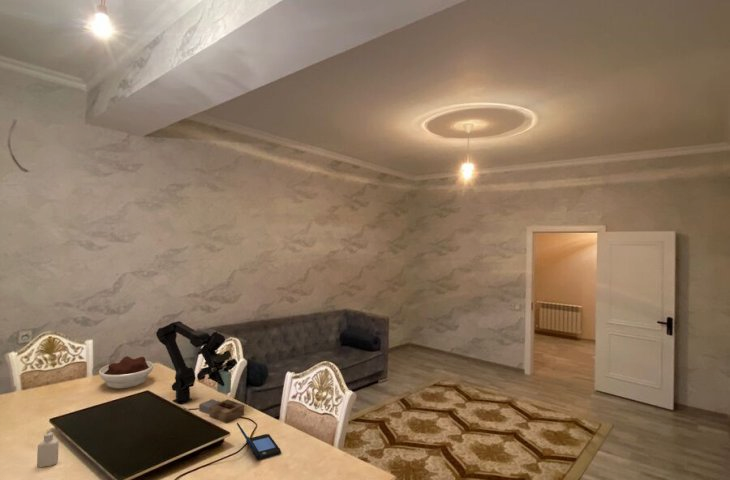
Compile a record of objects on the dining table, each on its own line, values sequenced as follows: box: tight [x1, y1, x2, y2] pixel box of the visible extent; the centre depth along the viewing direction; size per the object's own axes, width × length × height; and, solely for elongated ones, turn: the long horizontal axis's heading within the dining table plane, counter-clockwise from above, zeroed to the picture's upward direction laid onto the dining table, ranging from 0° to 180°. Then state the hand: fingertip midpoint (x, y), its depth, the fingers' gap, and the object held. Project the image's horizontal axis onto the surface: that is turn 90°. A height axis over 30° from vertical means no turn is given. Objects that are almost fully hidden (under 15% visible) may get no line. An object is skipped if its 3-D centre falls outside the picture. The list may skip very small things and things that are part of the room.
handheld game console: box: [236, 422, 282, 461], centre depth 148 cm, size 16×13×9 cm
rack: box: [208, 399, 245, 424], centre depth 174 cm, size 11×10×4 cm
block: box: [216, 370, 232, 395], centre depth 175 cm, size 6×2×9 cm, turn 60°
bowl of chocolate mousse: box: [98, 355, 155, 389], centre depth 206 cm, size 25×25×15 cm
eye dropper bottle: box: [36, 428, 60, 467], centre depth 134 cm, size 4×6×12 cm
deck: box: [198, 399, 221, 415], centre depth 179 cm, size 8×7×3 cm
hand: (226, 384), depth 175 cm, fingers closed on block, 2 cm apart
